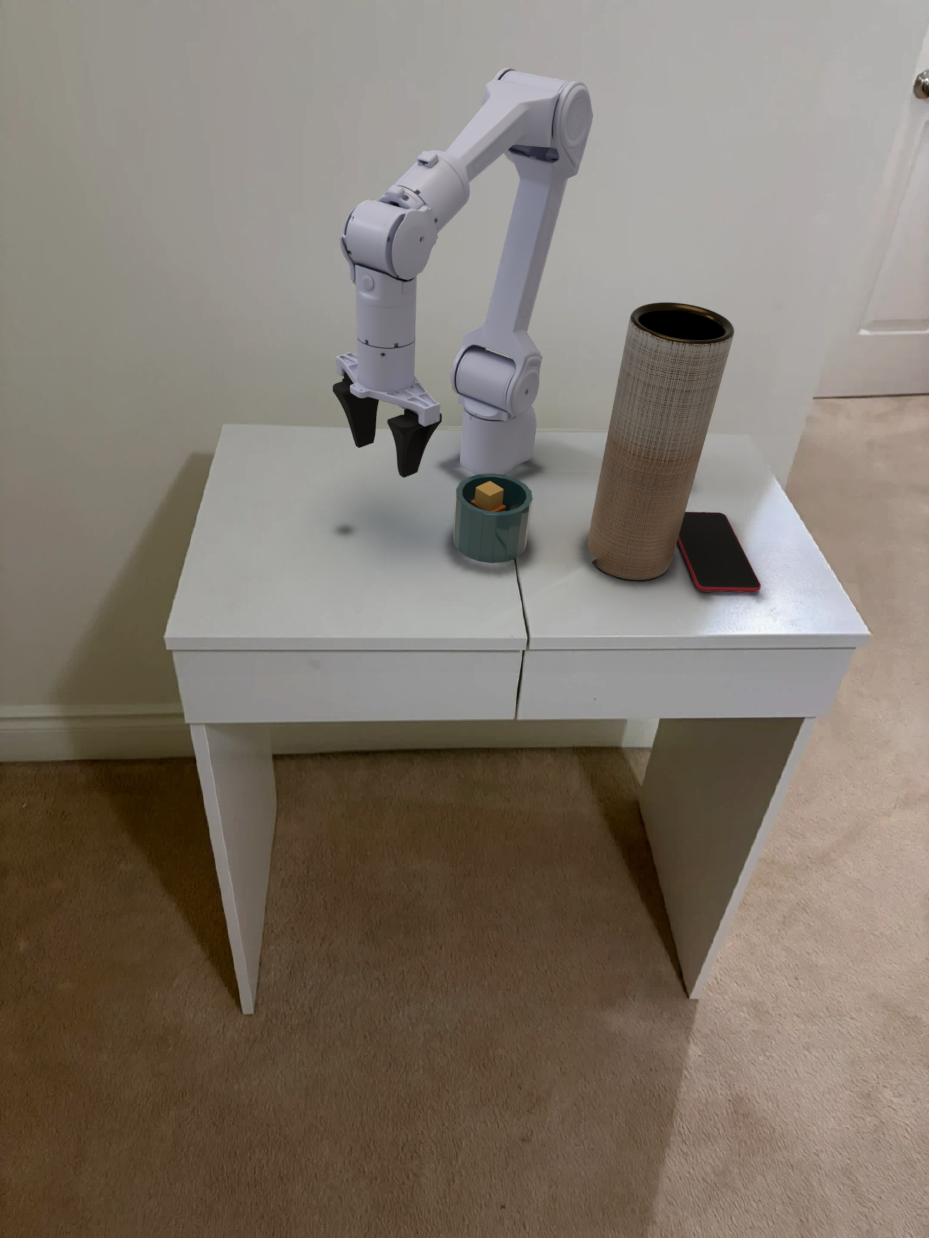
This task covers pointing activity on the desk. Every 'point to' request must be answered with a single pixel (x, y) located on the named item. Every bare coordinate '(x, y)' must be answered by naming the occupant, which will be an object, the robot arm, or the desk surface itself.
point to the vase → (656, 435)
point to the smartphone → (715, 554)
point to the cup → (492, 520)
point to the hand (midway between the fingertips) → (386, 458)
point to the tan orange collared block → (489, 497)
